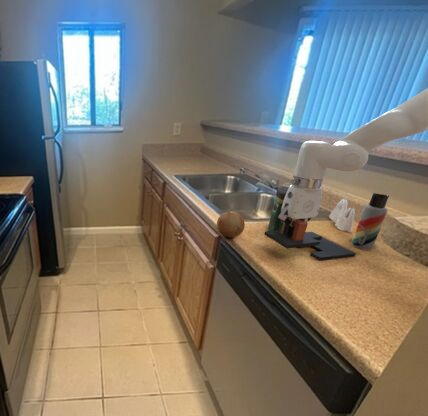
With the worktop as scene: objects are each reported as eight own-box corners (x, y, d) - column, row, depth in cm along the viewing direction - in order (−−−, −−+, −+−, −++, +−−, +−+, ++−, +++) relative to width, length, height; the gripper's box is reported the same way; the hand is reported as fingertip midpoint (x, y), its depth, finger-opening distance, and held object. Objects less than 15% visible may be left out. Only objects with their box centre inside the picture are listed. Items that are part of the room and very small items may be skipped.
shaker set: (326, 220, 120) (334, 196, 116) (338, 221, 119) (346, 196, 115) (339, 231, 109) (348, 205, 105) (352, 232, 108) (361, 206, 104)
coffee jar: (295, 240, 103) (307, 193, 96) (271, 237, 105) (282, 191, 98) (287, 229, 111) (298, 185, 105) (265, 227, 114) (275, 184, 107)
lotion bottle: (349, 246, 98) (368, 193, 91) (352, 241, 101) (370, 189, 94) (371, 252, 94) (392, 197, 87) (373, 246, 97) (394, 193, 90)
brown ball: (230, 244, 100) (234, 219, 97) (209, 233, 109) (212, 210, 105) (248, 238, 104) (253, 214, 101) (227, 228, 113) (231, 206, 109)
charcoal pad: (321, 240, 103) (322, 237, 102) (354, 256, 92) (355, 253, 91) (289, 243, 100) (290, 240, 100) (319, 260, 89) (320, 257, 89)
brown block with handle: (303, 230, 98) (308, 212, 96) (329, 244, 89) (336, 224, 86) (264, 234, 96) (268, 215, 93) (287, 248, 86) (292, 228, 84)
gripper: (293, 187, 80) (279, 242, 87) (340, 184, 83) (322, 238, 89) (274, 180, 87) (262, 232, 94) (318, 177, 90) (303, 228, 96)
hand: (291, 234), depth 91 cm, fingers closed on brown block with handle, 3 cm apart
